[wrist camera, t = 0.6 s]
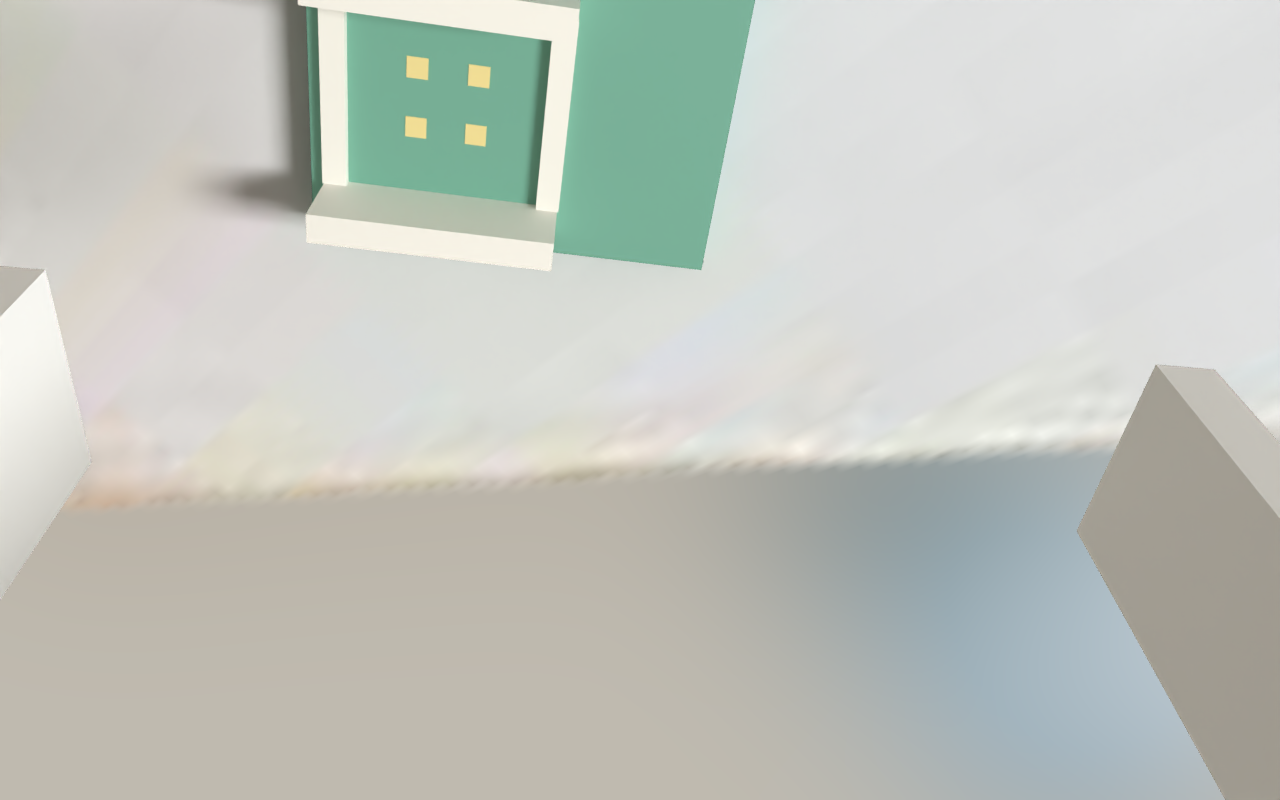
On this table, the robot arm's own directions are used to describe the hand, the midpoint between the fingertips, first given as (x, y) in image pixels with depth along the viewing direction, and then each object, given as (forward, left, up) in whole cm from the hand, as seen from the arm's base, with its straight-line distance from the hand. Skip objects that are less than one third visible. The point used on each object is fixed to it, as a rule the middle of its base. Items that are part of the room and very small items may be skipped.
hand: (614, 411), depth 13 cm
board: (+1, -2, -25) cm, 25 cm away
